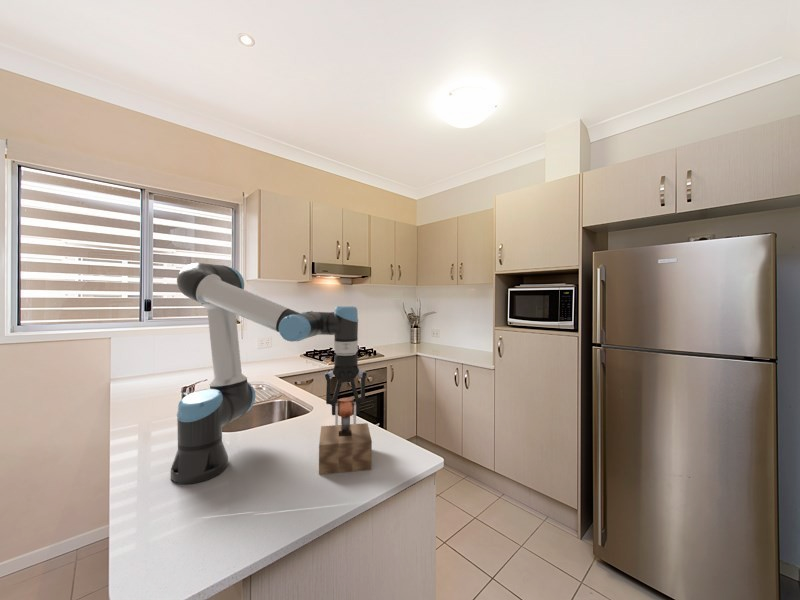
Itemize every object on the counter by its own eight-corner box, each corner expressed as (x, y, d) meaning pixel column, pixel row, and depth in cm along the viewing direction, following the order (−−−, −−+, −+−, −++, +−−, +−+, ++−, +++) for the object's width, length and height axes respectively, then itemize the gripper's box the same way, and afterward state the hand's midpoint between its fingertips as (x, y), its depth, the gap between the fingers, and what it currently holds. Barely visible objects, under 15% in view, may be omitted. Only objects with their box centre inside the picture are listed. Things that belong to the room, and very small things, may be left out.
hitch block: (318, 474, 97) (319, 445, 97) (321, 452, 111) (321, 426, 111) (371, 469, 100) (371, 441, 100) (367, 448, 114) (367, 423, 114)
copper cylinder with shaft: (337, 436, 102) (337, 403, 102) (337, 429, 108) (337, 398, 107) (354, 434, 103) (354, 402, 103) (353, 428, 109) (353, 397, 108)
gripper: (316, 356, 100) (316, 430, 100) (375, 354, 103) (374, 426, 104) (318, 352, 107) (317, 421, 107) (372, 350, 111) (372, 417, 111)
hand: (345, 423), depth 106 cm, fingers closed on copper cylinder with shaft, 5 cm apart
